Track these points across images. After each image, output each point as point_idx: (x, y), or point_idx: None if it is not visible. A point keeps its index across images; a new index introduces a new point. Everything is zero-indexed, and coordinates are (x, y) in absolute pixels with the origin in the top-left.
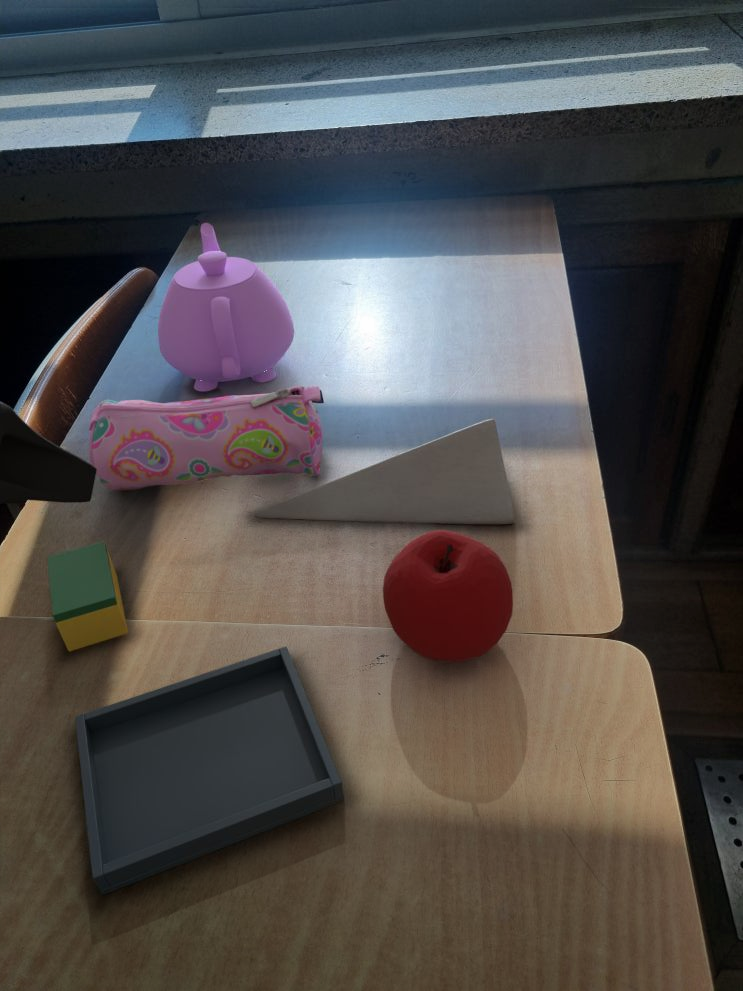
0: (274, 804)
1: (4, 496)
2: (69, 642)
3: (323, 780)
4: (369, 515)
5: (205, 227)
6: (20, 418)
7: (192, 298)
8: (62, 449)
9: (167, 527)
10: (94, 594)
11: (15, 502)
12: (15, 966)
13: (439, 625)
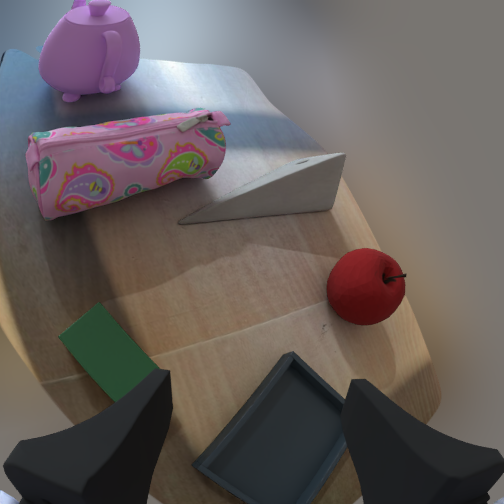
0: (345, 446)
1: None
2: None
3: None
4: (262, 213)
5: None
6: (473, 445)
7: (85, 32)
8: (399, 407)
9: (110, 248)
10: (139, 372)
11: (169, 420)
12: None
13: (387, 316)
